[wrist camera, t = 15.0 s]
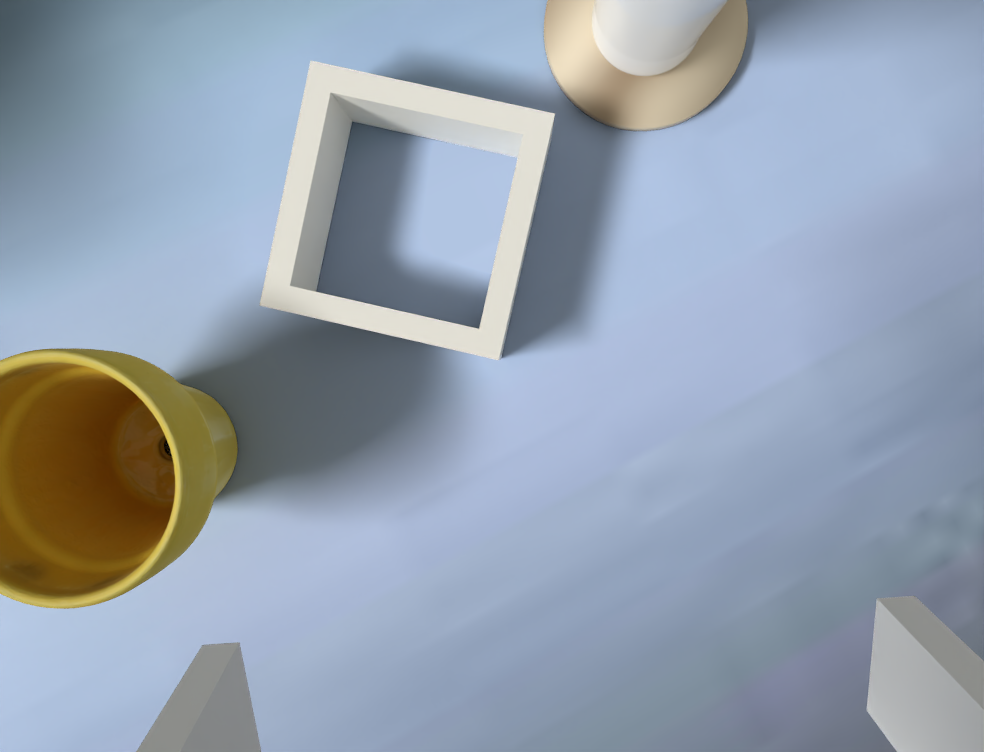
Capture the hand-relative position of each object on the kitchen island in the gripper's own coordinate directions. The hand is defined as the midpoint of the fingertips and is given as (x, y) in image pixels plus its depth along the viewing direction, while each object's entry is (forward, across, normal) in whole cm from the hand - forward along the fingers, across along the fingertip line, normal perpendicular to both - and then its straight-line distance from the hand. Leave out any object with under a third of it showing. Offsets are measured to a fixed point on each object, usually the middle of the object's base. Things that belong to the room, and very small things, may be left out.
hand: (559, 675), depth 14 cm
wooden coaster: (+26, +8, +17) cm, 32 cm away
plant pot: (+22, -18, -2) cm, 29 cm away
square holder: (+24, -4, +8) cm, 26 cm away
